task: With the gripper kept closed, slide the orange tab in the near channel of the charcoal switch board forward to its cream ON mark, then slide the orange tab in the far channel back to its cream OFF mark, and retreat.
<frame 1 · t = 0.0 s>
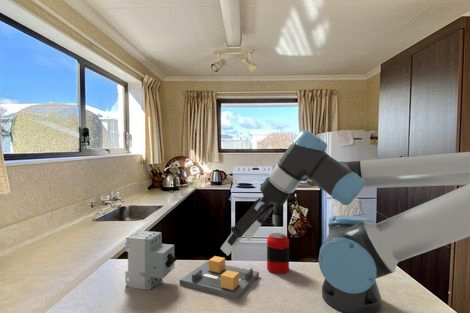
hand: (236, 243, 76), 15 cm above the counter, tool tilted 35°, fingers open, 13 cm apart
tab 1: (230, 279, 80), point 4 cm above the counter, slide at 0.0 cm
soda can: (277, 270, 95), on the counter
tab 2: (217, 264, 91), point 4 cm above the counter, slide at 9.0 cm
switch board: (220, 280, 87), on the counter
circuit breaker: (153, 283, 85), on the counter
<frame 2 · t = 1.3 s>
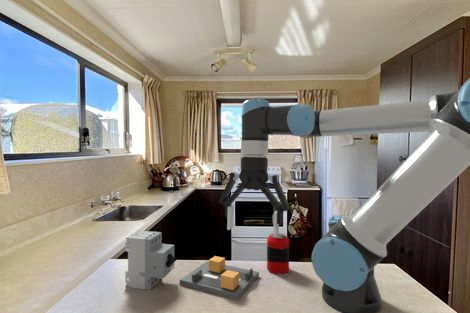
hand: (252, 232, 76), 19 cm above the counter, tool pointing down, fingers open, 13 cm apart
nothing on the counter moved.
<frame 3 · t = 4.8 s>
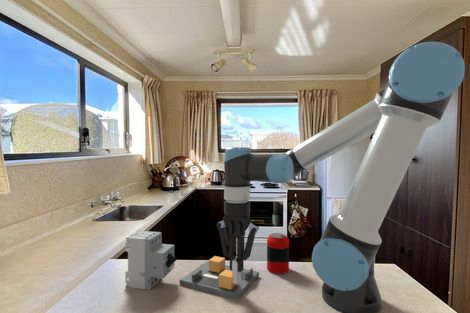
hand: (236, 281, 79), 3 cm above the counter, tool pointing down, fingers closed
tab 1: (228, 279, 80), point 4 cm above the counter, slide at 0.7 cm, touching gripper
everything else where it was.
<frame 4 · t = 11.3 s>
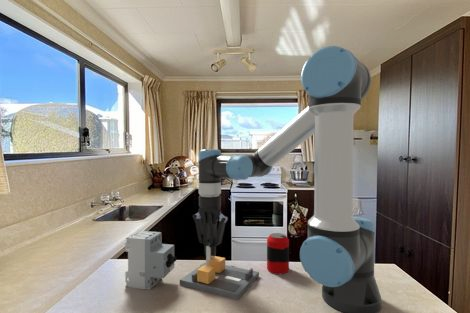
hand: (210, 264, 92), 3 cm above the counter, tool pointing down, fingers closed
tab 1: (206, 274, 84), point 4 cm above the counter, slide at 8.2 cm
tab 2: (217, 264, 91), point 4 cm above the counter, slide at 8.9 cm, touching gripper
everything else where it was.
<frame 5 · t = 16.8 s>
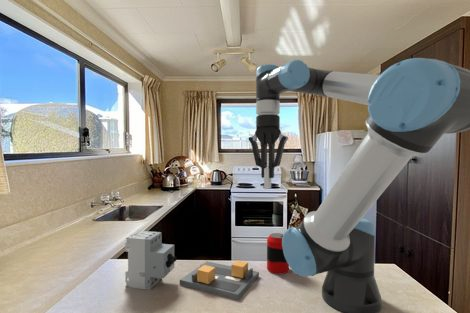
hand: (267, 188, 88), 29 cm above the counter, tool pointing down, fingers closed
tab 2: (239, 269, 87), point 4 cm above the counter, slide at 0.6 cm
everything else where it was.
at the end: tab 1 slide at 8.2 cm; tab 2 slide at 0.6 cm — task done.
